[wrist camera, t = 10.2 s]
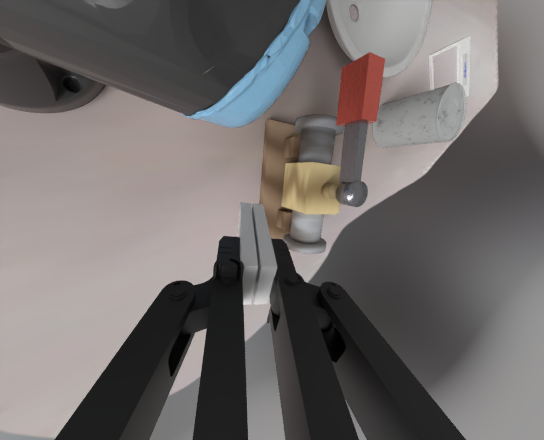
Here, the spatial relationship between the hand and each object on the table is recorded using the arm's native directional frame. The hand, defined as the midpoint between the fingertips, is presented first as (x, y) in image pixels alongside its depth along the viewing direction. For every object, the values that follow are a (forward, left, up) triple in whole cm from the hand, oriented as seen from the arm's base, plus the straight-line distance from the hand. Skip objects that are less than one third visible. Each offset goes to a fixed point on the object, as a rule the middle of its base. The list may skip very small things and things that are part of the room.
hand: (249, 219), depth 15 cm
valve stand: (-2, +14, -18) cm, 23 cm away
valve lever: (-9, +14, -6) cm, 17 cm away
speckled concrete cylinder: (-17, +39, -19) cm, 47 cm away
